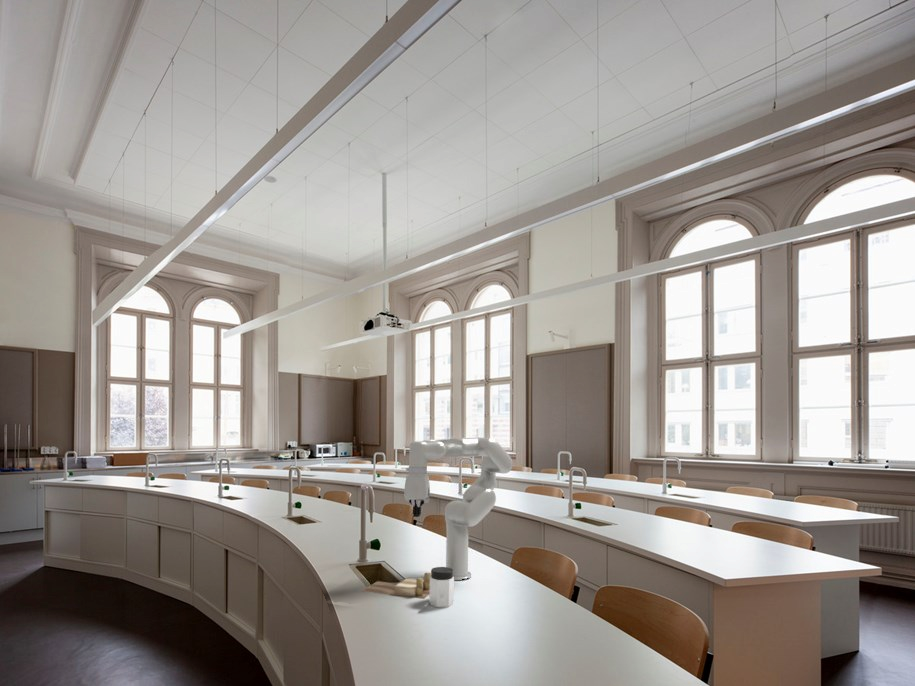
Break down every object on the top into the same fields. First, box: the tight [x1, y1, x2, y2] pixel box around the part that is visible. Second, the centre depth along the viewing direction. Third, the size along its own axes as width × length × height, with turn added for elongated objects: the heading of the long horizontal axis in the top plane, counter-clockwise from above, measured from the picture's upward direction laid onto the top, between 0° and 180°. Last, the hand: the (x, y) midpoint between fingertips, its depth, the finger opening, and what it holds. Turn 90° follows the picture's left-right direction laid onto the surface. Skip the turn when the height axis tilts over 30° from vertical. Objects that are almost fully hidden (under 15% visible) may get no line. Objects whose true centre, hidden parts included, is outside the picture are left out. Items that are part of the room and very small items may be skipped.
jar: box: [428, 566, 455, 608], centre depth 202 cm, size 9×8×12 cm
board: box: [361, 572, 431, 600], centre depth 215 cm, size 14×26×7 cm, turn 72°
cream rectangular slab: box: [395, 577, 424, 598], centre depth 213 cm, size 12×8×3 cm, turn 162°
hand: (416, 516), depth 228 cm, fingers closed
